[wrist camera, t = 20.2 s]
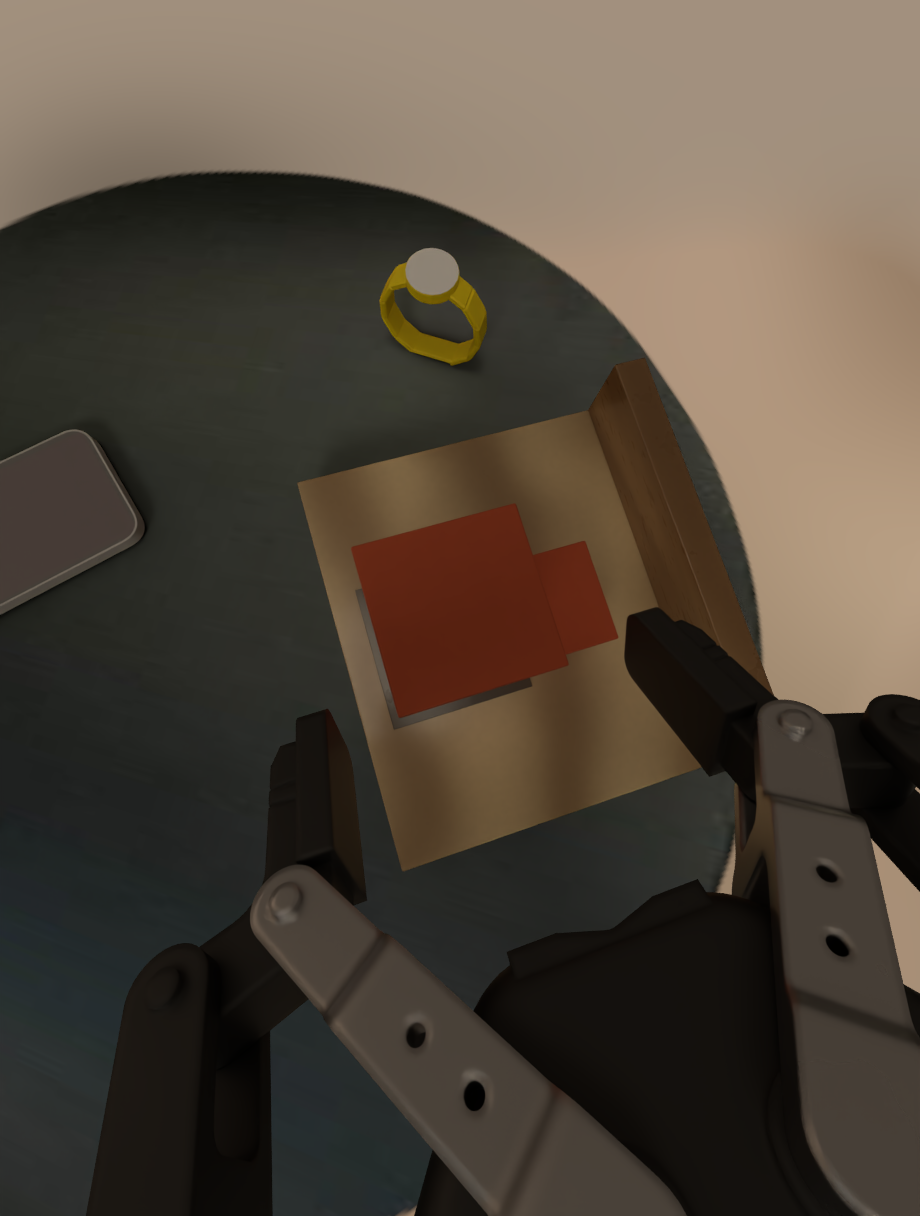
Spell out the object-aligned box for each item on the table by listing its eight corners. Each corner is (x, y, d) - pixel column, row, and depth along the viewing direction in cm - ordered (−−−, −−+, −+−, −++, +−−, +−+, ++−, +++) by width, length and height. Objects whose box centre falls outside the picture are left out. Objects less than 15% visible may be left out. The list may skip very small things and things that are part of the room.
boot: (409, 703, 24) (398, 718, 13) (382, 607, 25) (349, 546, 14) (597, 645, 25) (728, 616, 14) (566, 554, 26) (669, 461, 15)
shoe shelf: (404, 850, 26) (398, 910, 19) (309, 503, 29) (274, 445, 22) (708, 746, 28) (801, 765, 21) (595, 430, 31) (645, 356, 24)
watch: (485, 347, 31) (499, 269, 25) (471, 385, 31) (482, 314, 25) (395, 315, 31) (388, 228, 25) (379, 352, 30) (369, 273, 25)
